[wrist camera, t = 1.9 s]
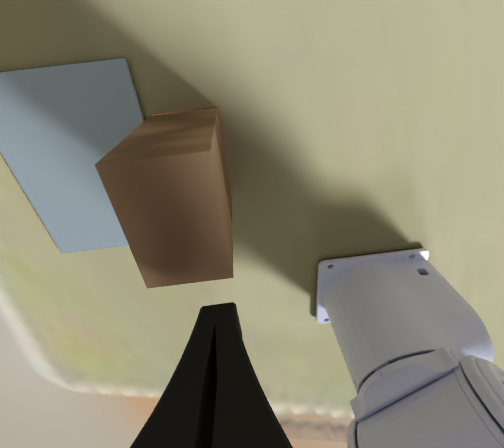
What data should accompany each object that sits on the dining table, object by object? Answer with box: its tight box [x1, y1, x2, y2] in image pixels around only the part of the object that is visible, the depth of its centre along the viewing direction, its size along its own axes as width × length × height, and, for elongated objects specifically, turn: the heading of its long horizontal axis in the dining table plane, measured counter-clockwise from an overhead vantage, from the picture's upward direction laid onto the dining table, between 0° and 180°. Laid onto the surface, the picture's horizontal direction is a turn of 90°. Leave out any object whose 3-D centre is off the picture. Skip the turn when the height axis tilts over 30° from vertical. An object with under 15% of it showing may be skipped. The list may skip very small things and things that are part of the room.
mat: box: [0, 58, 145, 253], centre depth 18 cm, size 9×12×1 cm
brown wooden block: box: [95, 107, 233, 288], centre depth 15 cm, size 4×6×8 cm, turn 5°
